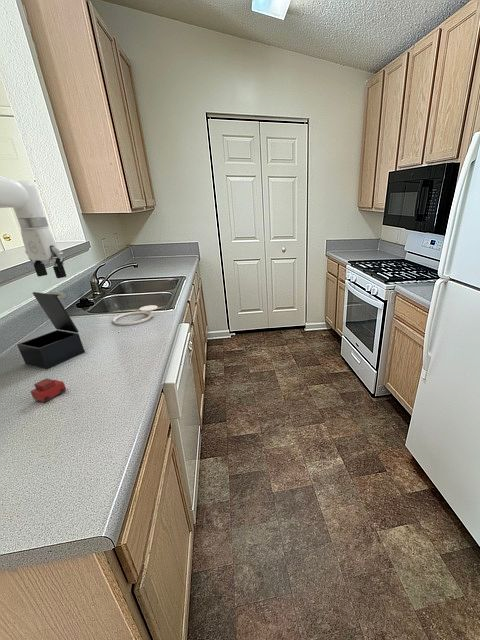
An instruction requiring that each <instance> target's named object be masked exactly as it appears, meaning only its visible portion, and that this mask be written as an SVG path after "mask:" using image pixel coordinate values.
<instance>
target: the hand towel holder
mask: <svg viewBox="0 0 480 640" xmlns="http://www.w3.org/2000/svg"><path fill="white" fill-rule="evenodd" d="M157 308H158V305H152V304H150V305H145V306H141V307H139V311H137V310H136V311H130V312H125V313H123V314H122V313H121V314H118V315H116V316H114V317H113V319H112V323H113V324H115V325H118V326H130V325H137V324H141V323H144V322H146V321H148V320H150V319H151V318H152V317H154V315H153V313H152V311H155V310H157ZM141 314H142V315H147V317H145V318H142V319H139V320H135V321H129V322H125V321H124V322H121V321H117V320H118V319H120V318H122V317H123V318H124V317H126V316H131V315H141Z"/></svg>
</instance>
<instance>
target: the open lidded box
mask: <svg viewBox="0 0 480 640" xmlns="http://www.w3.org/2000/svg"><path fill="white" fill-rule="evenodd" d="M16 346H17V348H18V351H19V353H20V355H21V357H22V359H23V362H24V364H25V365H26V366H31V367H35V368H39V369H45V370H49V369H51V368H54V367H55V366H57V365H60V364H62V363H65V362H67V361H69V360H71V359H74V358H76V357H78V356H80V355H82V354H85V353H86V351H85V348H84V345H83V342H82V339H81V336H80V334H79V332H78V333H75V332H70V331H64V330H58V329H55V330H53V331H51V332H48V333H45V334H42V335H39V336H37V337H34V338H30V339H28V340H25V341H23V342H20V343H16Z"/></svg>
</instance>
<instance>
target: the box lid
mask: <svg viewBox="0 0 480 640" xmlns="http://www.w3.org/2000/svg"><path fill="white" fill-rule="evenodd" d="M32 295H33V296H34V298H35V299H36V301H37V303H38V304H39V306H40V307H41V308H42V310H43V312H44V313H45V315H46V316H47V317H48V319H49V320H50V322H51V324H52V325H53V326H54V328H55V330H62V331H67V332H73V333H78V334H79V332H80V331H79V329H78V328H77V326H76V325H75V323H74V321H73V320H72V318H71V316H70V315H69V313H68V312H67V310H66V308H65V307H64V305H63V304H62V302H61V300H60V299H61V298H62V299H65V298H66V297H67V295H66V293H65V292H62V291H61V292H60V291H53V290H51V291H49V293H46V292H45V293H44V292H36V291H34V292H32Z"/></svg>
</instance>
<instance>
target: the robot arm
mask: <svg viewBox="0 0 480 640" xmlns="http://www.w3.org/2000/svg"><path fill="white" fill-rule="evenodd" d="M7 208H8V209H9V208H11V209H12V208H13V211H14V213H15V216H16V219H17V223H18V225H19V228H20V233H21V234H20V235H21V239H22V242H23V247H24V249H25V251H24V252H25V254H26V256H27V258H28V259H29V260H30V262H31V265H33V268H34V270H35V273H36V276H37V277H38V278H39V277H44V276H48V271H47V269H46V266H45V263H43V262H46V261H49V262H50V263H51V264H52V265H53V266H52V269H53V272H54V274H55V277H56V279H63V278H66V277H67V273H66V270H65V267H64V265H65V264H64V260H65V259H64V252H63V251H61V250H60V249H59V248H58V245H57V243H56V240H55V237H54V236H53V233H52V232H51V229H50V226H49V223H48V220H47V217H46V214H45V211H44V207H43V205H42V202H41V199H40V195H39V193H38V189H37V187H36V184H34V182H32V181H28V180H16V179H13V178H10V177H6V176H2V175H0V209H7Z"/></svg>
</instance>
